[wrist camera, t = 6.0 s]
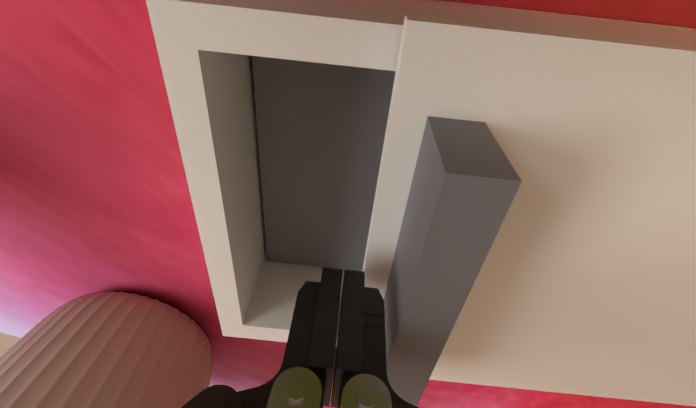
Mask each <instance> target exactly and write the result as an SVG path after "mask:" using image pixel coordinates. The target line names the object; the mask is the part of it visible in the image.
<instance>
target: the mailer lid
mask: <svg viewBox="0 0 696 408" xmlns="http://www.w3.org/2000/svg"><path fill="white" fill-rule="evenodd" d="M362 271H364V272H365V285H364V287H370V288H378V290H379V292H380V294H381V296H382V298H383V300H384V309H385V338H386V367H387V377H388V381H389V383H390V385H391V387H392V389H393V390H394V391H395V393H396V394H397V395H398V396H399V397H400V398H402V399H403V400H404V401H406V402H408V403H410V404H412V405H414V406H417V404H418V402H419V400H420V397H421V395H422V393H423V391H424V389H425V387H426V385H427V383H428V380H438V381H448V382H458V383H468V384H478V385H488V386H498V387H508V388H518V389H528V390H538V391H548V392H557V393H567V394H577V395H587V396H597V397H607V398H617V399H627V400H637V401H647V402H657V403H667V404H677V405H687V406H696V46H687V45H678V44H669V43H660V42H651V41H642V40H633V39H624V38H615V37H605V36H596V35H587V34H578V33H569V32H560V31H551V30H542V29H532V28H523V27H514V26H505V25H496V24H487V23H478V22H469V21H460V20H450V19H441V18H432V17H423V16H414V15H405V19H404V25H403V31H402V37H401V43H400V49H399V55H398V61H397V67H396V73H395V79H394V85H393V91H392V97H391V102H390V108H389V114H388V120H387V126H386V132H385V138H384V144H383V150H382V156H381V162H380V168H379V174H378V180H377V186H376V192H375V198H374V204H373V210H372V216H371V222H370V228H369V234H368V240H367V246H366V252H365V258H364V264H363V270H362Z"/></svg>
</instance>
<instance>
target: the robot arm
mask: <svg viewBox="0 0 696 408" xmlns="http://www.w3.org/2000/svg"><path fill="white" fill-rule="evenodd" d="M342 274H343V269H335V268H326V267H323V270H322V276H321V282H313V281H306V282H305V283H304V285H303V286H302V287H301V289H300V290H299V291H298V294H297V298H296V303H295V309H294V312H293V318H292V322H291V326H290V331H289V336H288V341H287V345H286V350H285V355H284V359H283V363H282V366H281V368H280V370H279V372H278V373H277V374H276V375H275V377H274V378H273V379H271V380H270V381H269V382H267V383H266V384H264V385H262V386H259V387H255V388H251V389H247V390H243V391H239V392H236V391H235V390H234V389H233V388H231V387H229V386H226V385H214V386H211V387H208V388H206V389H204V390H202V391H201V392H200V393H198V394H197V395H196V396H195V397H193V398H192V399H191V400H190V401H188V402H187V403H186V404H185V405H183V406H182V407H181V408H323V406H328V407H329V401H330V394H331V387H332V380H333V388H332V399H331V407H337V408H419V407H416V406H414V405H412V404H410V403H408V402H406V401H404V400H403V399H402V398H400V397H399V396H398V395H397V394H396V393H395V391H394V390H393V389H392V387H391V385H390V383H389V381H388V377H387V367H386V338H385V309H384V300H383V298H382V296H381V294H380V292H379V290H378V288H370V287H364V285H365V272H364V271H355V270H346V269H345V270H344V277H343V284H342ZM341 285H342V292H341ZM340 296H341V300H340ZM339 308H340V310H339ZM338 319H339V321H338ZM337 330H338V332H337ZM336 341H337V343H336ZM335 352H336V354H335ZM334 363H335V366H334ZM333 372H334V377H333Z"/></svg>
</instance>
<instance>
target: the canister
mask: <svg viewBox="0 0 696 408" xmlns="http://www.w3.org/2000/svg"><path fill="white" fill-rule="evenodd" d="M212 361H213V358H212V351H211V345H210V342H209V340H208V338H207V336H206V334H205V333H204V332H203V331H202V328H201V327H200V326H198V325H197V324H196V322H195V321H194V320H192V319H190V318H189V317H188V316H187V314H184V313H182V312H180V311H179V310H178V309H177V308H173V307H171V306H170V305H169V304H166V303H162V302H160V301H159V300H157V299H151V298H149V297H147V296H140V295H137V294H135V293H131V294H129V293H125V292H113V291H108V292H97V293H93V294H88V295H84V296H81V297H79V298H77V299H74V300H71V301H69V302H67V303H65V304H64V305H62V306H61V307H59V308H58V309H56V310H55V311H53V312H52V313H51V314H49V315H48V316H47V317H45V318H44V319H43V320H42V321H41V322H39V323H38V324H37V325H36V326H35V327H34V328H33V329H31V330H30V331H29V332H28V333H27V334H26V335H25V336H24V337H22V338H21V339H20V340H19V341H18V342H17V343H16V344H15V345H13V346H12V347H11V348H10V349H9V350H8V351H7V352H6V353H5V354H3V355H2V356H1V357H0V408H181V407H182V406H183V405H185V404H186V403H187V402H188V401H190V400H191V399H192V398H193V397H195V396H196V395H197V394H198V393H200V392H201V391H202V390H204V389H206V388H208V387H209V383H210V378H211V371H212Z"/></svg>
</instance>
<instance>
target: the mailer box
mask: <svg viewBox="0 0 696 408" xmlns="http://www.w3.org/2000/svg"><path fill="white" fill-rule="evenodd" d="M146 3H147V8H148V12H149V16H150V21H151V25H152V29H153V34H154V38H155V43H156V47H157V51H158V56H159V60H160V64H161V69H162V73H163V77H164V82H165V86H166V91H167V95H168V99H169V104H170V108H171V112H172V117H173V121H174V125H175V130H176V134H177V139H178V143H179V147H180V152H181V156H182V160H183V165H184V169H185V173H186V178H187V182H188V186H189V191H190V195H191V200H192V204H193V208H194V213H195V217H196V221H197V226H198V230H199V234H200V239H201V243H202V248H203V252H204V256H205V261H206V265H207V269H208V274H209V278H210V282H211V287H212V291H213V296H214V300H215V304H216V309H217V313H218V317H219V322H220V326H221V330H222V335H223V336H228V337H238V338H248V339H258V340H268V341H278V342H287V341H288V336H289V331H290V326H291V322H292V318H293V312H294V309H295V303H296V298H297V294H298V291H299V290H300V289H301V287H302V286H303V285H304V283H305V282H306V281H313V282H321V276H322V270H323V267H326V268H335V269H343V274H342V284H343V277H344V270H345V269H346V270H355V271H362V270H363V264H364V258H365V252H366V246H367V240H368V234H369V228H370V222H371V216H372V210H373V204H374V198H375V192H376V186H377V180H378V174H379V168H380V162H381V156H382V150H383V144H384V138H385V132H386V126H387V120H388V114H389V108H390V102H391V97H392V91H393V85H394V79H395V73H396V67H397V61H398V55H399V49H400V43H401V37H402V31H403V25H404V19H405V15H414V16H423V17H432V18H441V19H450V20H460V21H469V22H478V23H487V24H496V25H505V26H514V27H523V28H532V29H542V30H551V31H560V32H569V33H578V34H587V35H596V36H605V37H615V38H624V39H633V40H642V41H651V42H660V43H669V44H678V45H687V46H696V29H694V28H688V27H679V26H670V25H661V24H652V23H643V22H633V21H624V20H615V19H606V18H597V17H588V16H579V15H570V14H561V13H552V12H543V11H534V10H525V9H515V8H506V7H497V6H488V5H479V4H470V3H461V2H452V1H443V0H146ZM341 292H342V285H341ZM340 300H341V296H340ZM339 310H340V308H339ZM338 321H339V319H338ZM337 332H338V330H337ZM336 343H337V341H336Z"/></svg>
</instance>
